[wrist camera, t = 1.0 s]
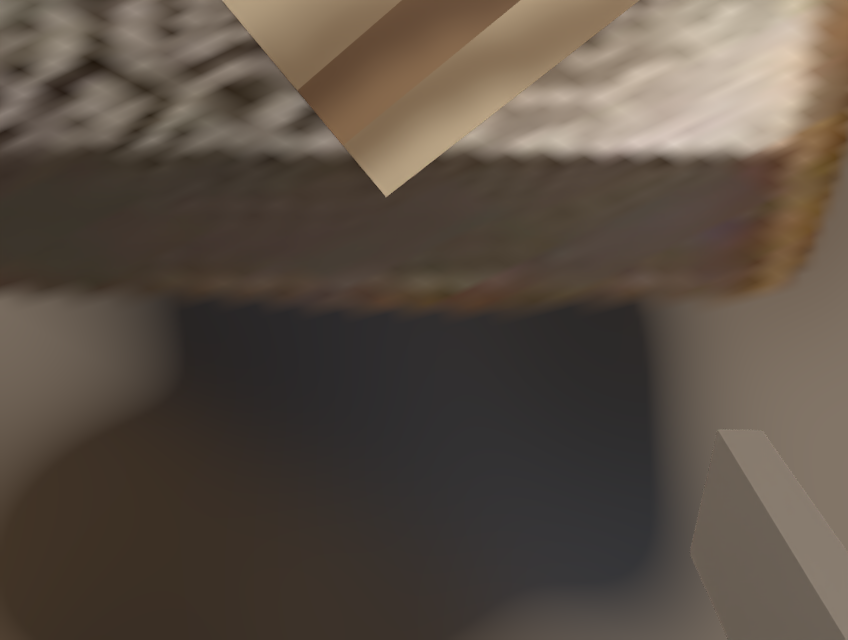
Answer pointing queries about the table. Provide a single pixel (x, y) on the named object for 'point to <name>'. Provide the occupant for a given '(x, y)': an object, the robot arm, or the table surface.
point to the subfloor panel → (415, 65)
